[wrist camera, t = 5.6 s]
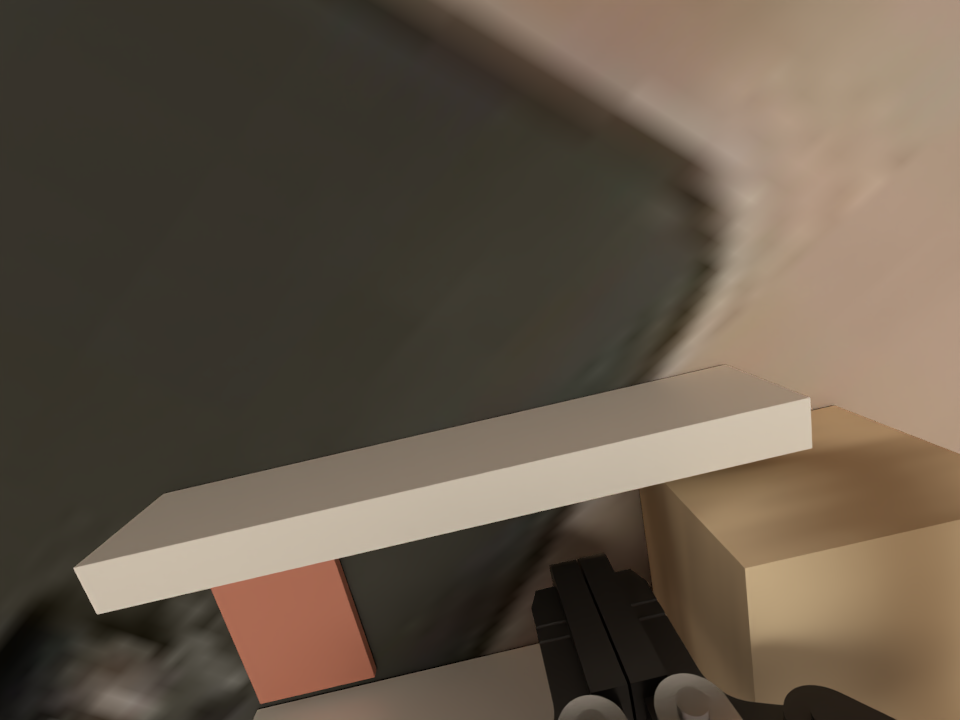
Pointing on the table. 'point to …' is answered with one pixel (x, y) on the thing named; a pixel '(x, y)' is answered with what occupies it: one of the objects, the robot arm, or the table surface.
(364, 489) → the channel
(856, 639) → the maple block
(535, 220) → the table surface
